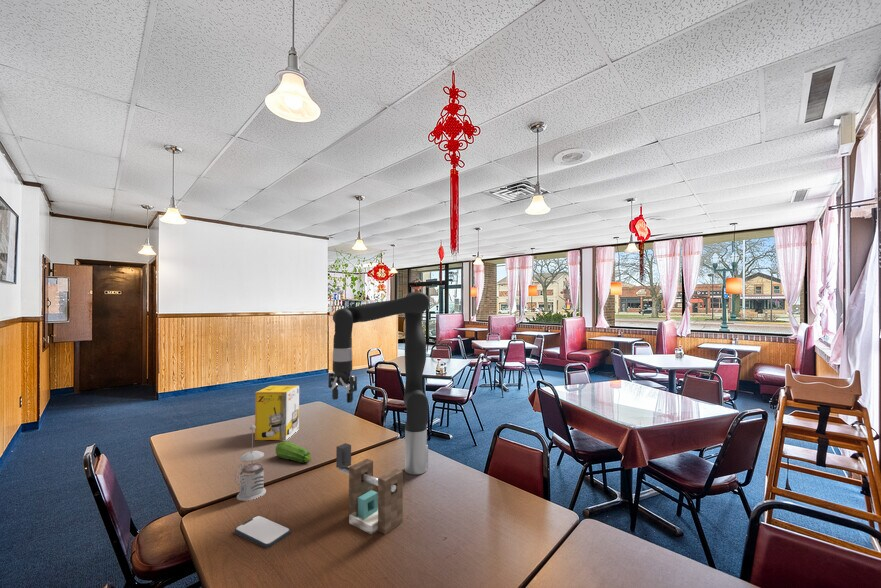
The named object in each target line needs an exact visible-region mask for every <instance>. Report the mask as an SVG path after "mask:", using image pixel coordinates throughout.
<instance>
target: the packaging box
mask: <svg viewBox="0 0 881 588" xmlns="http://www.w3.org/2000/svg"><path fill="white" fill-rule="evenodd" d="M254 404H255V406H254V408H255V409H254V410H255V412H254V414H255V415H254V418H255V419H254V425H255V427H256V428H255V429H254V441H255V440H287V439H288V438H289V437H290V438H292V437H293V436H294V435H295V434H296V433H297V431H298V430H299V431H300V385H268V386H267V387H263V388H262V389H260V390H258V391H255V402H254ZM299 431H298V432H299ZM295 432H296V433H295ZM294 433H295V434H294ZM293 434H294V435H293ZM292 435H293V436H292ZM291 436H292V437H291ZM290 438H289V439H290ZM289 439H288V440H289ZM288 440H287V441H288Z"/></svg>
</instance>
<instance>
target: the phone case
mask: <svg viewBox="0 0 881 588" xmlns="http://www.w3.org/2000/svg"><path fill="white" fill-rule="evenodd" d="M291 531H292V530H291V529H290V527H286V526H284V525H283V524H280V523H277V522H276V521H273V520H271V519H268V518H267V517H264V516H262V515H256V516H254V517H252V518H250V519H249V520H247V521H245V522H243V523H242V524H240V525H238V526H236V527H235V528H234V534H235V535H237V536H239V537H241V538H243V539H246V540H248V541H249V542H252V543H254V544H256V545H258V546H261V547H263V548H264V547H265V548H264V549H267V548H268V547H269V548H271V547H272V545H273V546H274V545H276V544H277V543H279V542H280V541H281V540H283V539H285V538H286V537H287V536H289V535H290V534H291ZM269 548H268V549H269Z"/></svg>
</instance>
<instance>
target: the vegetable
mask: <svg viewBox="0 0 881 588" xmlns="http://www.w3.org/2000/svg"><path fill="white" fill-rule="evenodd" d="M275 454H276V456H277V457H279V458H281V459H284V460H289V459H290V460H289V461H296V462H299V463H302V462H305V463H308V462H310V460H311V459H312V457H311V452H310V451H309V450H308V449H307V448H305V447H302V446H299V445H297V444H295V443H294V442H292V441H291V442H290V441H288V440H287V441H279V442H278V444H276V447H275ZM302 464H303V463H302Z"/></svg>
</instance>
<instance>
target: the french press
mask: <svg viewBox="0 0 881 588" xmlns="http://www.w3.org/2000/svg"><path fill="white" fill-rule="evenodd" d="M255 428H256V427H255V424H253V425H251V426H249V429H250V430H252V431H251V433H252V435H251V437H252V438H251V439H252V440H251V451H247V452H246V453H244V454H243V455H241V456H239V460H240V461H241V462H245V463H248V462H251V463H248V464H242V463H241V464H239V466H237V468H236V470H235V474H234V483H235V484H236V485H237V486H239V493H237V495H236V500H238V501H243V502H247V501H248V500H249V501H253V499H254V500H256V498H257V499H259V498H261V497H263V496H264V495H265V494H266V492H267V489H266V488H265V487H264V483H265V481H264V476H265V472H264V471H265V469H264V467H263V466H264V465H263V463H257V462H254V461H257V460H260V459H262V458H263V457H264V456H265V453H264V452H262V451H259V450H254V449H253V446H254V443H253V441H254V430H255ZM253 462H254V463H253ZM240 467H241V468H240ZM239 468H240V470H239V472H238V469H239ZM237 472H238V476H236V475H237ZM248 474H249V475H248ZM236 477H237V478H236ZM236 479H238V480H236ZM237 481H238V482H237ZM238 483H239V484H238ZM260 496H261V497H260ZM258 497H259V498H258Z"/></svg>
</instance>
